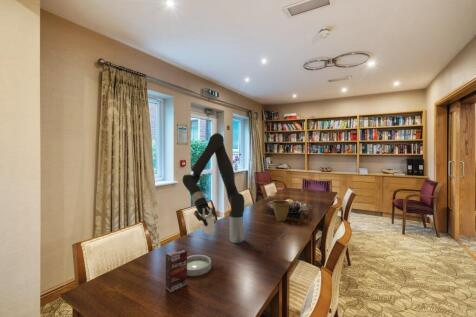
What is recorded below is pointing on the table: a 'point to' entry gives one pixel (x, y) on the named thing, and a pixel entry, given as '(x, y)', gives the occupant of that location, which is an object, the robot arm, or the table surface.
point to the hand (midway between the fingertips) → (210, 224)
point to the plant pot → (281, 209)
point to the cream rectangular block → (209, 225)
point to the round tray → (198, 265)
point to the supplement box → (176, 269)
